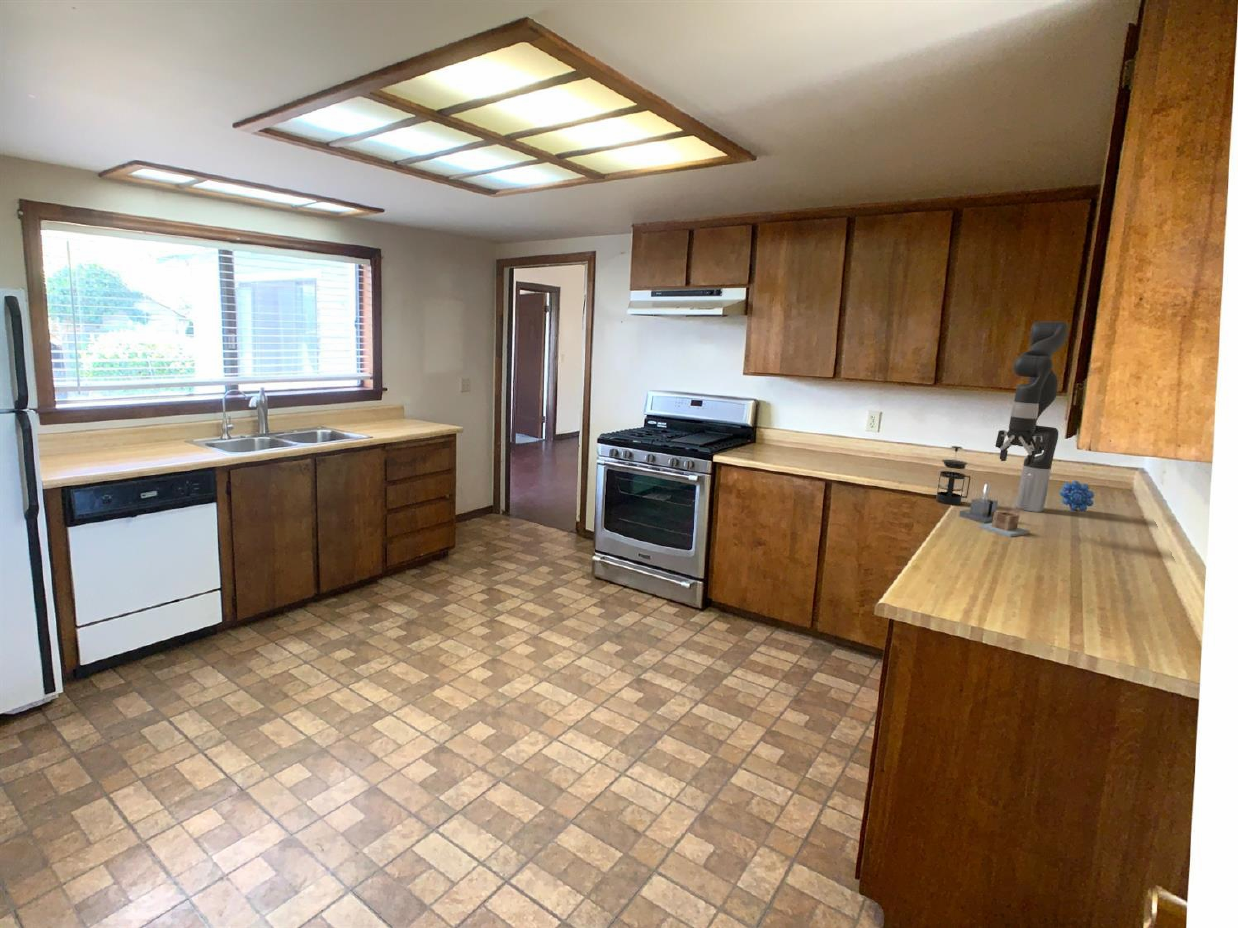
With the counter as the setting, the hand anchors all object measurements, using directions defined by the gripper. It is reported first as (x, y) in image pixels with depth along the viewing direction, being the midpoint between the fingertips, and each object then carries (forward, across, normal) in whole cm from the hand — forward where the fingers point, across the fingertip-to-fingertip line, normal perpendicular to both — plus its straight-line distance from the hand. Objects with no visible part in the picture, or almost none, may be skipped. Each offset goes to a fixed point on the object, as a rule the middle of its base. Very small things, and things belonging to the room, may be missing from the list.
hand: (1015, 463), depth 217 cm
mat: (+24, 0, 0) cm, 24 cm away
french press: (+24, +33, -18) cm, 45 cm away
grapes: (+24, +7, -59) cm, 64 cm away
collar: (+23, 0, 0) cm, 23 cm away
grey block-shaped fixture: (+24, +13, -8) cm, 28 cm away
